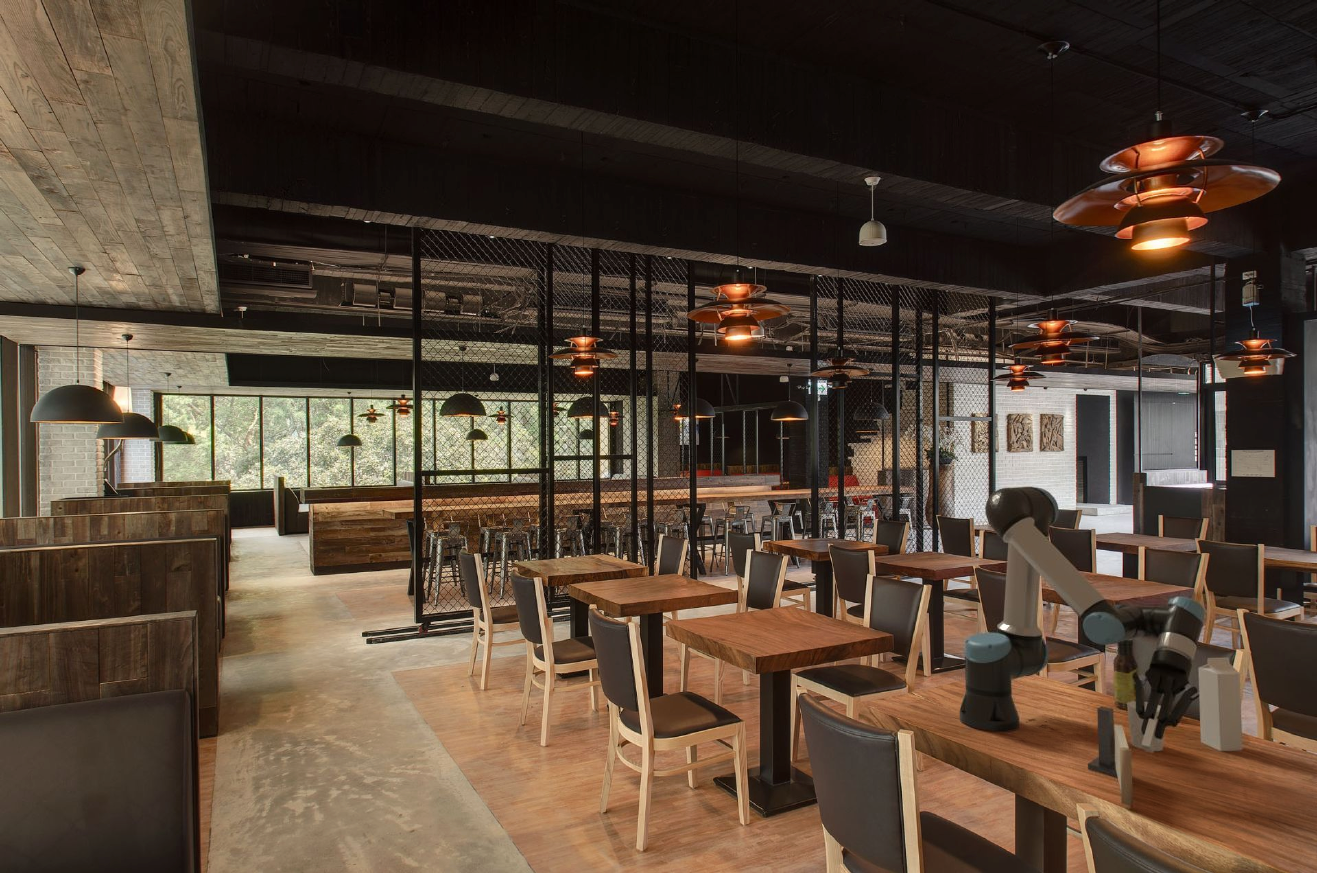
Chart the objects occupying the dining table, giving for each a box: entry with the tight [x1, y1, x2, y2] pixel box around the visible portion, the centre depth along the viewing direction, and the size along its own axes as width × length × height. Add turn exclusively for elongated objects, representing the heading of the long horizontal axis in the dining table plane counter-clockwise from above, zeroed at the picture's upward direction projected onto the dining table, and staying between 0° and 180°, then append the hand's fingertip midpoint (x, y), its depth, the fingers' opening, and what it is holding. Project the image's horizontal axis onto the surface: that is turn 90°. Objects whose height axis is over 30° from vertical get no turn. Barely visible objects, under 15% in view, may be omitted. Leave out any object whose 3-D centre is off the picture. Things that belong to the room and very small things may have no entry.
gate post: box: [1087, 705, 1118, 778], centre depth 172 cm, size 6×6×14 cm
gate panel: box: [1114, 723, 1134, 807], centre depth 160 cm, size 19×2×11 cm, turn 152°
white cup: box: [1127, 701, 1165, 752], centre depth 186 cm, size 8×8×10 cm
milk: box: [1197, 657, 1243, 752], centre depth 186 cm, size 6×6×22 cm
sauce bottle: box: [1113, 639, 1140, 711], centre depth 215 cm, size 7×6×20 cm
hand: (1147, 749), depth 160 cm, fingers closed
